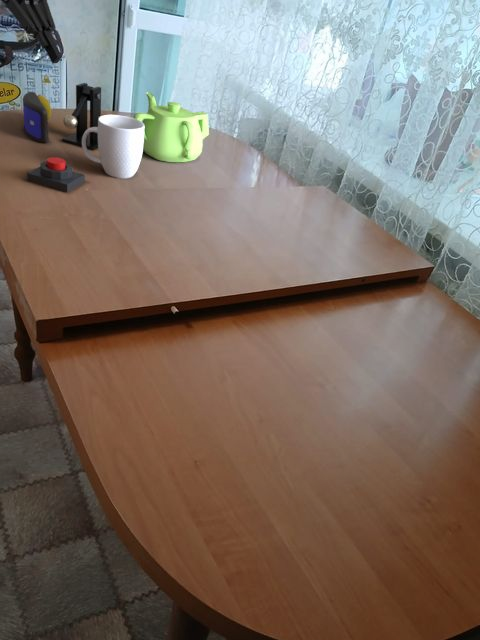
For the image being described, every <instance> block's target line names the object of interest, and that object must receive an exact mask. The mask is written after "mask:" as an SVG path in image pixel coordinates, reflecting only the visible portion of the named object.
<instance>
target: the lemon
mask: <svg viewBox="0 0 480 640" xmlns="http://www.w3.org/2000/svg"><path fill="white" fill-rule="evenodd" d="M37 96H38V98H39V99H40V101H41V102H42V104H43V105H44V107H45V108H46V111H47V121H48V120H49V119H50V117H51V115H52V107H51V104H50V101H49V100H48V99H47V98H46V97H45V96H44V95H42V94H40V93H39V94H37Z"/></svg>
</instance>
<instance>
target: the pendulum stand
mask: <svg viewBox="0 0 480 640" xmlns="http://www.w3.org/2000/svg"><path fill="white" fill-rule="evenodd" d="M86 85H87V86H89V85H88V83H87V82H83V83H78V84H76V85H75V108H76V107H77V106H78V104H79V102H80V101H81V99H82V98H83V95H82V91H83V89H84V88H85V86H86ZM88 102H89V128H91V127H98V118H99V117H100V116H102V87H101V86H96V87H94V88H92V89H90V101H87V102H86V104H85V106H84V107H83V109H82V110H81V112H80V114H79V115H78V117H77V118H76V119H77V126H76V127H75V128H76V129H75V130H76V132H75V133H73V134H71V135H68V136H66V137H63V138H62V143H65V144H69V145H72V146H76V147H79V148H82V137H83V134H84V133H85V131H86V130H87V129H88ZM86 147H87V150H88V151H89V150H90V151H95V150H97V149H98V134H97V133H95V132H90V133H89V134H88V135H87V138H86Z"/></svg>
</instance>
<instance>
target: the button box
mask: <svg viewBox="0 0 480 640" xmlns="http://www.w3.org/2000/svg"><path fill="white" fill-rule="evenodd" d="M65 168H66V169H64V170H52V169H49V168H47V160H45V161H42V162H40V164H39V166H38V167H36V168H34V169H32V170H30V171H28V172H26V180H27V182H30V183H33V184H37V185H40V186H43V187H48V188H51V189H55V190H57V191H60V192H64V193H70V192H71V191H73V190H74V189H76V188H77V187H79V186H81V185H83V184H85V182H86V175H85V174H83V173H80V172H78V171H73V166H72V165H71V164H69V163H68V162H65Z"/></svg>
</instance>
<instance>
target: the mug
mask: <svg viewBox="0 0 480 640" xmlns="http://www.w3.org/2000/svg"><path fill="white" fill-rule="evenodd" d="M90 132H95V133H97V134H98V148H97V149H98V156H99V158H98V157H95V156H94V155H92V154H91V153H90V152H89V149H87V147H86V138H87V135H88V134H89V133H90ZM143 143H144V124H143V123H142V122H141V121H139V120H137V119H134V117H131V116H127V115H121V114H105V115H101V116H100V117H99V118H98V127H91V128H90V127H88V128H87V130H86V131H85V133H84V134H83V137H82V147H81V149H82V151H83V154H84V155H85V156H86V158H87V159H89V160H90V161H91V162H94V163H97V164H99V165H101V166H102V169H103V170H104V172H105V173H106V175H108V176H110V177H113V178H117V179H129V178H132V177H134V176H135V174H136V172H137V171H138V169H139V167H140V164H141V161H142V158H143V152H144V151H143Z"/></svg>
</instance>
